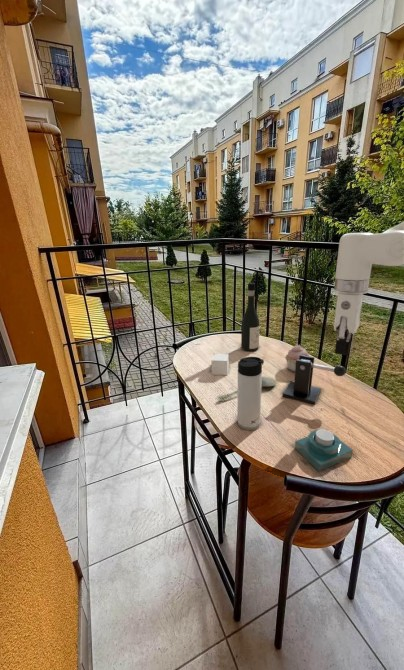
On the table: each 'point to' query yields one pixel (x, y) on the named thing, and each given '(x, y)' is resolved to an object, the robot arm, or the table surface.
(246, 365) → the travel mug
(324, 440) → the flush button
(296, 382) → the lever bracket
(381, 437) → the table surface
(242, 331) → the wine bottle
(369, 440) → the table surface
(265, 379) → the soupspoon
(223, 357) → the white cube
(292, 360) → the cupcake
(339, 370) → the flush lever
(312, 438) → the plate
